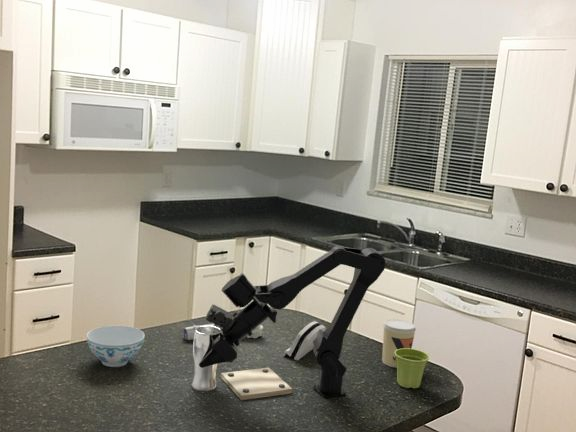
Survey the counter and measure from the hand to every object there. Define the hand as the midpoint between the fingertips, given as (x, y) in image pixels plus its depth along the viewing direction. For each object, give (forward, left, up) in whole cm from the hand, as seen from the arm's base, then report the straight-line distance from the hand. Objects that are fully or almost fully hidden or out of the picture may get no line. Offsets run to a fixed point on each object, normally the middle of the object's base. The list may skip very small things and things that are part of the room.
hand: (200, 359), depth 161 cm
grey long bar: (+31, -19, -8) cm, 38 cm away
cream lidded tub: (-1, -61, -7) cm, 62 cm away
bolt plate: (-4, -14, -7) cm, 16 cm away
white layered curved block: (+15, -39, -8) cm, 42 cm away
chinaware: (+20, +17, -7) cm, 27 cm away
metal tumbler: (-1, -1, -7) cm, 8 cm away
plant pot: (-15, -55, -7) cm, 58 cm away
